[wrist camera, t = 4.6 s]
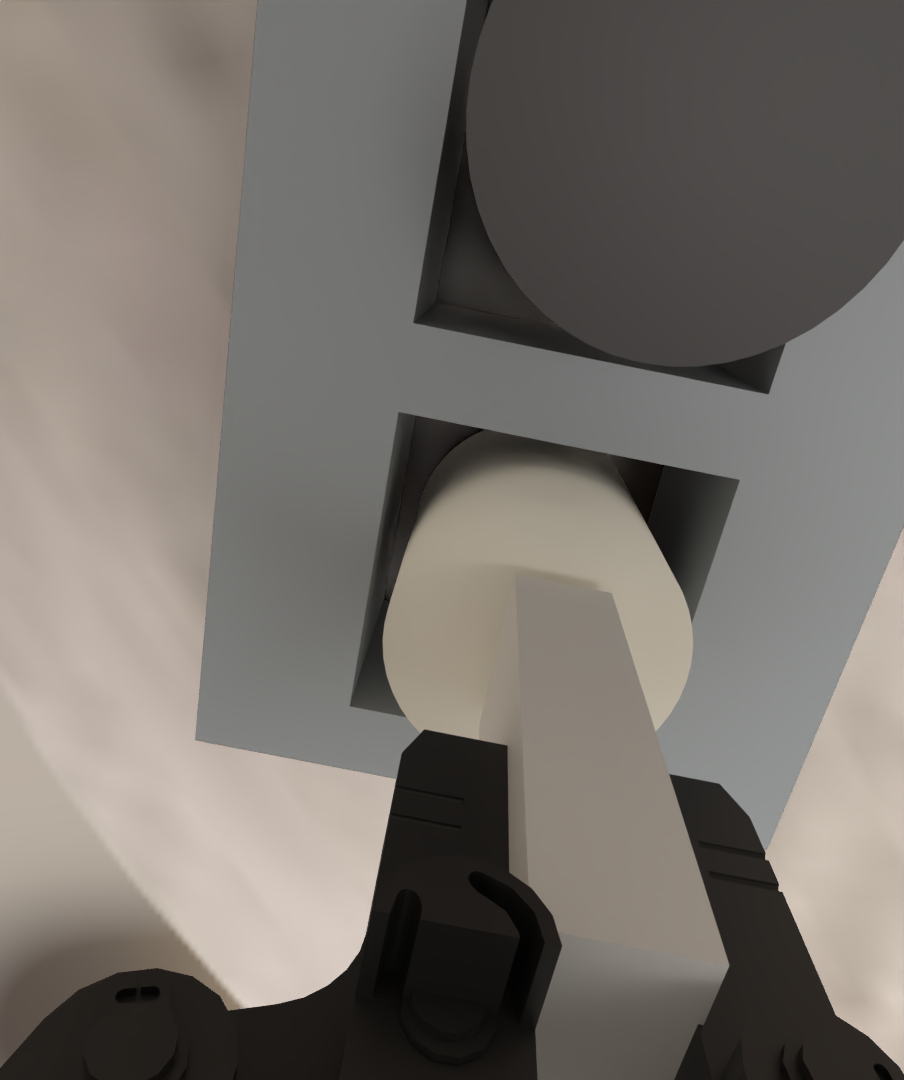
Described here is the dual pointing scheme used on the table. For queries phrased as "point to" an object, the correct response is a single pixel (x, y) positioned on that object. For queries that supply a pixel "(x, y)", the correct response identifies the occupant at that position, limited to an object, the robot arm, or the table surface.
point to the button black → (689, 165)
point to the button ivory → (523, 574)
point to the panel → (504, 427)
